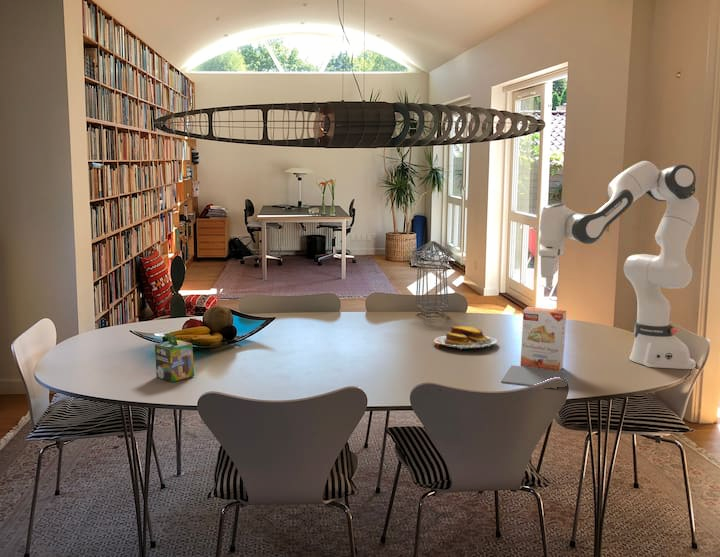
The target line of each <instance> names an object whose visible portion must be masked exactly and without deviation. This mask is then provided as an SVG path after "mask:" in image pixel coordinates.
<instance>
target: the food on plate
mask: <svg viewBox="0 0 720 557" xmlns="http://www.w3.org/2000/svg"><path fill="white" fill-rule="evenodd" d="M432 342H433V344H436V348H439V345H442V346H445V347H447V348H448V347H449V348H457V349H460V350H462V349H465V350H466V349H477V348H478V349H480V348H484V347H485V348H486V347H490V346H491V345H495V344H496V343H497V342H499V340H498V339H497V338H494V337H492V336H488V335H484V334H483V331H482V329H481V328H478V327H475V326H472V325H471V326H470V325H455V326H452V327H451V328H450V330H448V331H447V332H446V335H443V336H442V335H441V336H437V337H436V338H435V339H434V340H433V341H432Z"/></svg>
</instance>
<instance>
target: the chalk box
mask: <svg viewBox="0 0 720 557" xmlns="http://www.w3.org/2000/svg"><path fill="white" fill-rule="evenodd" d="M166 337H167V341H164V342H160V343H155V345H154V352H155V354H154V355H155V368H156V369H155V370H156V372H155V373H156V378H158V379H161V380H164V381H167V382H169V383H174V382H178V381H181V380H186V379H189V378H193V377H195V369H194V353H193V351H194V349H193V343H192V342H187V341H185V340H180V339H179V340H178V339H177V338H176V335H174V334H171V333H166ZM172 339H173V340H172Z"/></svg>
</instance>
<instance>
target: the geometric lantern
mask: <svg viewBox="0 0 720 557" xmlns="http://www.w3.org/2000/svg"><path fill="white" fill-rule="evenodd" d="M434 249H435V250H434ZM419 250H420V251H419ZM429 250H430V252H429ZM439 252H441V254H440V253H439ZM411 253H412V254H413V256H414V259H416V261H417V264H419V263H420V267H417V277H416V296H415V305H416V306H417V307H418V308H419V309H420V310H421V311H420V312H421V314H422V315H423V316H425V317H430V318H431V317H433V315H431V313H437V315H434V317H443V316H444V311H445V309H447V308H448V307H449V294H448V293H449V292H448V280H447V279H448V276H447V271H448V269H447V268H446V267H445V266H444V265H443V264H444V263H446V262H447V261H448V260H449V257H450V256H451V255H454V253H453V252H452V251H450V250H449V249H447V248H446V247H444V246H443V245H441V244H440V243H438V242H437V241H435V240H431V241H428V242H427V243H425V244H423V245H422V246H420V247H418V248H417V249H415V250H413V251H412V252H411ZM435 256H438V257H439V259H438V260H435ZM422 258H423V261H422V260H421V259H422ZM432 258H433V259H432ZM426 260H430V261H431V263H430V264H429V265H428V267H426V268H425V267H424V263H425V261H426ZM436 262H439V263H440V267H438V266H437V265H436V264H435V263H436ZM432 264H433V265H434V266H432V267H431V265H432ZM428 269H434V270H429V272H435V299H434V300H435V301H429V290H428V289H429V288H428V287H429V285H428V279H429V278H428ZM438 272H439V291H440V292H439V293H440V298H439V299H440V301H437V297H438V296H437V295H438ZM441 272H442V274H443V275H442V278H443V280H442V278H441ZM425 274H426V278H425ZM421 278H422V279H421ZM425 279H426V302H424V293H425V292H424V290H425V289H424V287H425ZM421 280H422V289H421ZM442 281H443V294H444V302H443V300H442V299H443V298H442ZM421 290H422V292H421ZM420 294H422V295H421V302H420ZM424 304H426V306H424ZM429 304H435V305H434V306H429ZM437 304H439V305H438V306H437ZM441 305H442V306H441ZM443 305H444V306H443ZM441 308H443V309H441ZM430 310H432V311H430Z"/></svg>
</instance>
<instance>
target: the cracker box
mask: <svg viewBox="0 0 720 557" xmlns="http://www.w3.org/2000/svg"><path fill="white" fill-rule="evenodd" d="M522 311H523V314H522V328H521V330H522V331H521V346H520V347H521V348H520V366H522V367H531V368H540V369H549V370H558V371H562V370H561V369H562V368H563V367H564V354H565V342H566V341H565V339H566V324H567V323H566V322H567V321H566V320H567V319H566V318H567V310H562V309H560V310H559V309H553V308H552V309H550V308H543V307H534V306H526V307H525V308H524V309H523V310H522Z"/></svg>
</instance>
